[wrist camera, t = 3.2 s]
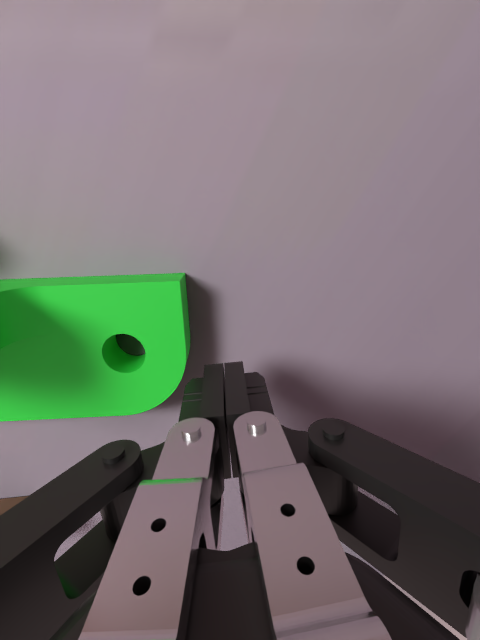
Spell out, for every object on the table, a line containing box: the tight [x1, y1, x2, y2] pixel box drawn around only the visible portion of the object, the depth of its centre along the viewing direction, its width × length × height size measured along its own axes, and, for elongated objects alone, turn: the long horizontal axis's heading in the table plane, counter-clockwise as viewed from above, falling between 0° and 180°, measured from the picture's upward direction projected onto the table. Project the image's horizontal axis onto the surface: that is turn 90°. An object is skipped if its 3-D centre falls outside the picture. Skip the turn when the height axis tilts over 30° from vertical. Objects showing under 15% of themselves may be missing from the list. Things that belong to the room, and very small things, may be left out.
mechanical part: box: [0, 273, 190, 421], centre depth 12 cm, size 12×6×8 cm, turn 92°
